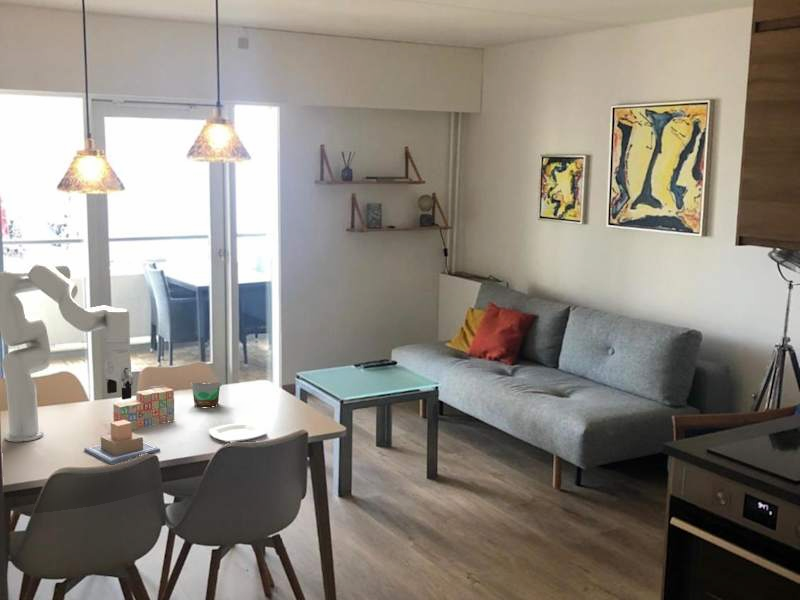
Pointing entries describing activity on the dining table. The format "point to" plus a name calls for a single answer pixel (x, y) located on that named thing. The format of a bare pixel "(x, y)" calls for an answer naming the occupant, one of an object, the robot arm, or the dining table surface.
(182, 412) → the dining table surface
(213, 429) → the plate
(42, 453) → the dining table surface
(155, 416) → the stack of blocks
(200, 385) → the food container
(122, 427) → the terracotta cube
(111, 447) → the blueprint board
